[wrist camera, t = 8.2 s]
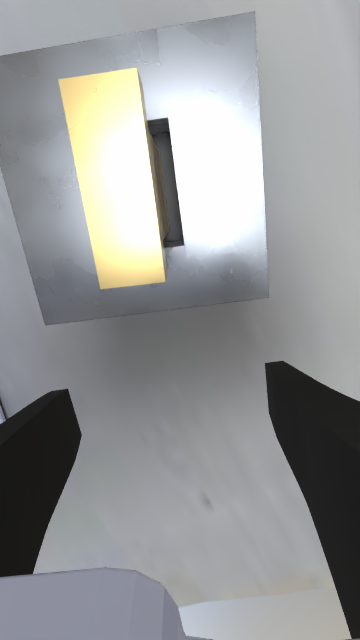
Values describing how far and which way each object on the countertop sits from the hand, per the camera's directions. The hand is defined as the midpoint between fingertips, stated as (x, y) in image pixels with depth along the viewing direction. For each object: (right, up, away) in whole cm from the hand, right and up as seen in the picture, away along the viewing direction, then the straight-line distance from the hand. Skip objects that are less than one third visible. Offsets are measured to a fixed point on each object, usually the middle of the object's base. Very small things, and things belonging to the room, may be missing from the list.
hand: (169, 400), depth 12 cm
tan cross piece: (-2, +10, +7) cm, 12 cm away
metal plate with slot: (-2, +10, +6) cm, 12 cm away
